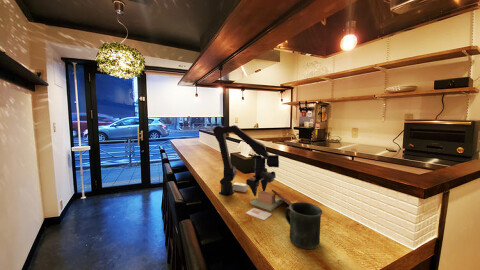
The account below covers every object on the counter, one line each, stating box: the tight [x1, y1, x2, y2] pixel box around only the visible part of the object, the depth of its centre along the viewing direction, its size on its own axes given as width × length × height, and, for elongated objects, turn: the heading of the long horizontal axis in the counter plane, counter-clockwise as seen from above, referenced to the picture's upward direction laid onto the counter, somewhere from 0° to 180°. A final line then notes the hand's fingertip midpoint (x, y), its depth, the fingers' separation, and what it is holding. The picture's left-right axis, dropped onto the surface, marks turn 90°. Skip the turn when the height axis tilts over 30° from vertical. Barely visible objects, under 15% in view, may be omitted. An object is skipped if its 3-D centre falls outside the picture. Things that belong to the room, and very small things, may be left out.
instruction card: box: [245, 207, 273, 221], centre depth 91 cm, size 10×7×1 cm
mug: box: [284, 201, 323, 250], centre depth 72 cm, size 11×15×12 cm
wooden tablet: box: [271, 189, 293, 207], centre depth 93 cm, size 26×2×10 cm
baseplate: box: [249, 197, 283, 212], centre depth 102 cm, size 12×12×1 cm
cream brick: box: [232, 181, 248, 193], centre depth 120 cm, size 8×4×4 cm, turn 68°
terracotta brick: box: [257, 190, 277, 205], centre depth 102 cm, size 8×4×4 cm, turn 53°
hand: (259, 193), depth 112 cm, fingers open, 9 cm apart
